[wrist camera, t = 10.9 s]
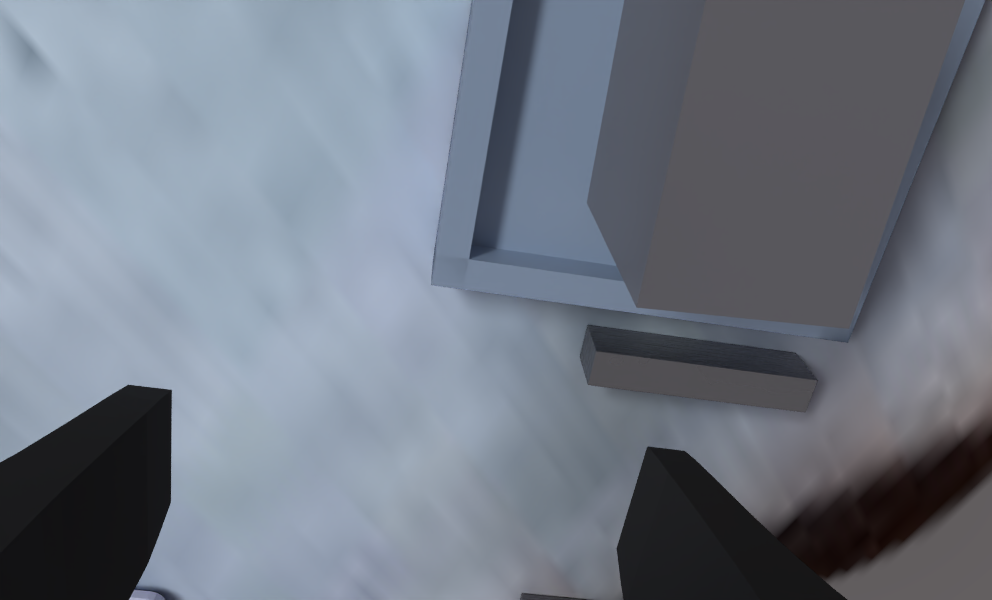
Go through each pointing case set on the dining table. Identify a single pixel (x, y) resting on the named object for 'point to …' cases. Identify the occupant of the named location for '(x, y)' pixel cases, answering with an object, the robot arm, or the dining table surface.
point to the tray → (569, 160)
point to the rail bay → (693, 372)
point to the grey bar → (761, 148)
